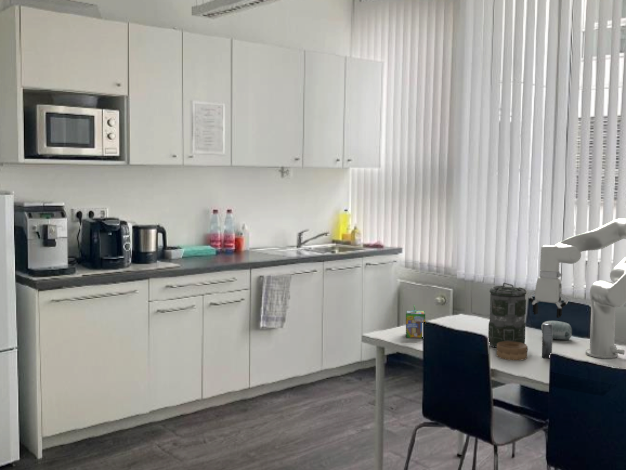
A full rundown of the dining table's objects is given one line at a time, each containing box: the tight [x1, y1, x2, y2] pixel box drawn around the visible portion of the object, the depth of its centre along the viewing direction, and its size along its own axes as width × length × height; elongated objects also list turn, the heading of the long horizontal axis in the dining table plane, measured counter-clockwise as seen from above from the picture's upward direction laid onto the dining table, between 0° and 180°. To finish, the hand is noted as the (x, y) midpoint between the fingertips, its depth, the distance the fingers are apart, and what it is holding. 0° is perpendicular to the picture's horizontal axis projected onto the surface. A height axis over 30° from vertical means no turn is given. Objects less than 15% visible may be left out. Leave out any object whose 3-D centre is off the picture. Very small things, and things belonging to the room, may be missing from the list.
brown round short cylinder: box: [496, 341, 528, 361], centre depth 296 cm, size 12×12×5 cm
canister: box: [487, 282, 527, 349], centre depth 313 cm, size 16×16×28 cm
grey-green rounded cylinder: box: [540, 320, 573, 341], centre depth 327 cm, size 14×10×10 cm
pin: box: [541, 322, 553, 360], centre depth 294 cm, size 4×4×14 cm
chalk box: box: [405, 304, 426, 339], centre depth 331 cm, size 9×9×15 cm
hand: (546, 315), depth 293 cm, fingers open, 9 cm apart
